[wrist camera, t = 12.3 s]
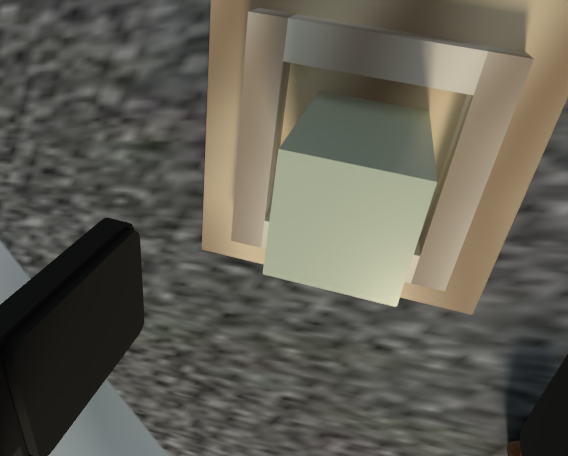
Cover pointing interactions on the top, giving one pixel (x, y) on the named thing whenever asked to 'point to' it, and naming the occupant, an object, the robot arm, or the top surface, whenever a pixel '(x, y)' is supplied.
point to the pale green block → (351, 197)
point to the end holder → (398, 91)
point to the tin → (514, 448)
